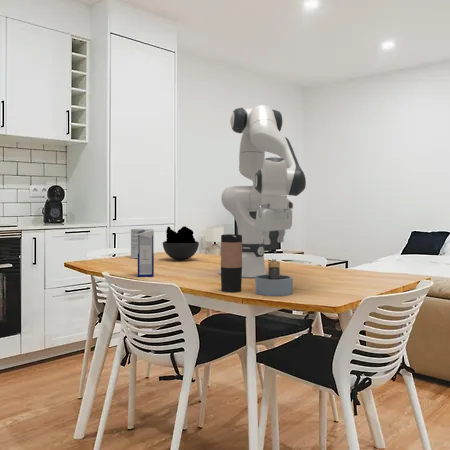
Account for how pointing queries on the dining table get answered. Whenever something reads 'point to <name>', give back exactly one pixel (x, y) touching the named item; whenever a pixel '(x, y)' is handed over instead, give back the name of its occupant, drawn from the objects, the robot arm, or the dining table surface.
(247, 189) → the robot arm
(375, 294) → the dining table surface
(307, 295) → the dining table surface
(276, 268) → the battery cell
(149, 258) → the milk carton
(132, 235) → the supplement box
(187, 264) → the dining table surface
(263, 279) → the cup
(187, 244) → the coal bowl
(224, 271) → the travel mug
